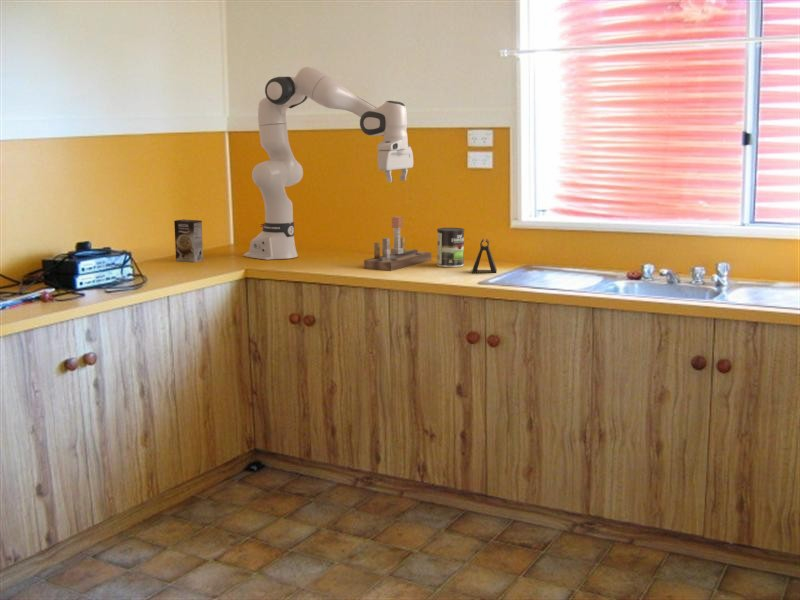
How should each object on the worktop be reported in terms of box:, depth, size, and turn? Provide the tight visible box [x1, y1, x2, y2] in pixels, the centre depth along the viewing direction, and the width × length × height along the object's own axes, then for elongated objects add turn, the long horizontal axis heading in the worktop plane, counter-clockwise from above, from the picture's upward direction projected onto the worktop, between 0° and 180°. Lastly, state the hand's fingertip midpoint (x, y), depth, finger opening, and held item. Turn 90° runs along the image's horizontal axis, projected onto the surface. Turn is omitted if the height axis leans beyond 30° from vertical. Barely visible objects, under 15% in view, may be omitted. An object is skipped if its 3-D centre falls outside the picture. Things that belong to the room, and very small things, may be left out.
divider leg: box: [390, 216, 404, 254], centre depth 378 cm, size 3×4×14 cm
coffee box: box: [173, 218, 204, 263], centre depth 389 cm, size 9×6×16 cm
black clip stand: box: [471, 238, 498, 274], centre depth 360 cm, size 9×6×12 cm, turn 83°
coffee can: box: [436, 227, 465, 268], centre depth 375 cm, size 10×10×14 cm
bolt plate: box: [363, 236, 432, 272], centre depth 380 cm, size 12×30×11 cm, turn 148°
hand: (396, 181), depth 374 cm, fingers open, 8 cm apart
